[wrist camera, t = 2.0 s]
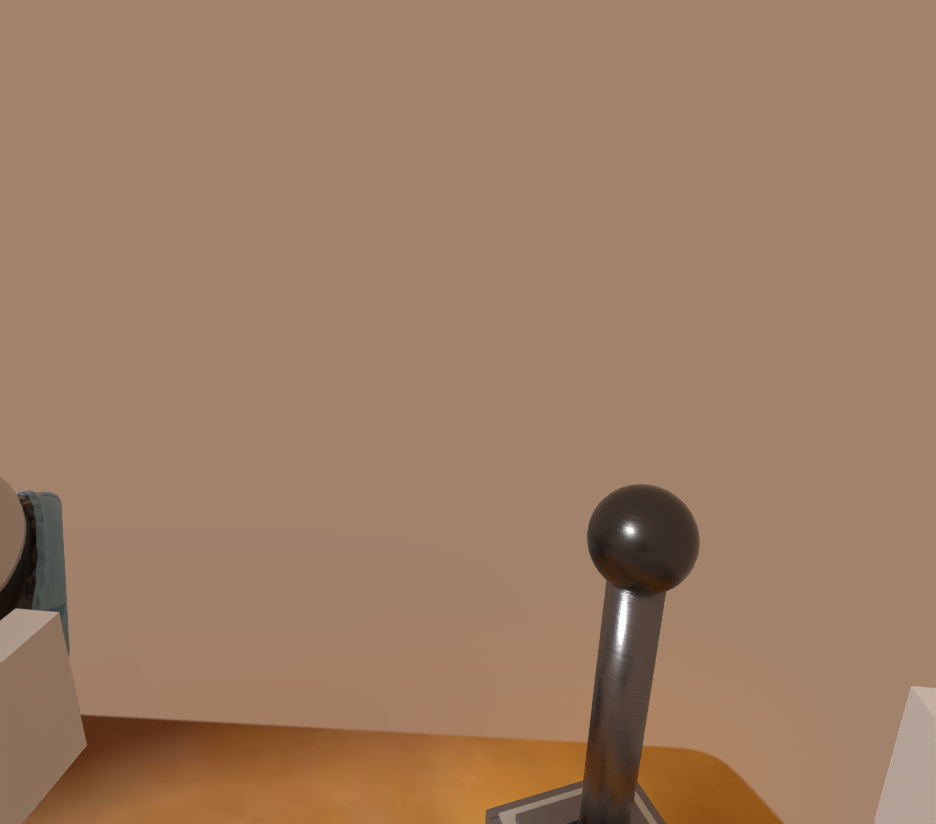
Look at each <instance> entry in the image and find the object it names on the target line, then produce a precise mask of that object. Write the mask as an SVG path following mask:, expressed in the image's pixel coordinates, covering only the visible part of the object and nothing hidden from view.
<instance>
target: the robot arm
mask: <svg viewBox="0 0 936 824" xmlns="http://www.w3.org/2000/svg"><path fill="white" fill-rule="evenodd" d="M62 526H63V525H62V508H61V501H60V498H59V497H58V496H57V495H55V494H53V493H51V492H33V491H29V490H28V491H23V492H20V493H18V494H17V495H16V493H15V492H14V491H13V489H12V488H11V486H10V485H9V484H8V483H7V482H6V481H5V480H3V479H2V478H1V477H0V824H23V822H24V821H25V820H26V819H27V818H28V816H29V815H30V814H31V813H32V812H33V810H34V809H35V808H36V807H37V805H38V804H39V803H40V802H41V801H42V799H43V798H44V797H45V796H46V795H47V793H48V792H49V791H50V790H51V789H52V787H53V786H54V785H55V784H56V782H57V781H58V780H59V779H60V778H61V776H62V775H63V774H64V773H65V772H66V770H67V769H68V768H69V767H70V765H71V764H72V763H73V762H74V761H75V759H76V758H77V757H78V756H79V755H80V753H81V752H82V751H83V750H84V749H85V747H86V746H87V743H86V739H85V734H84V729H83V724H82V720H81V715H80V710H79V705H78V700H77V696H76V691H75V686H74V681H73V677H72V672H71V667H70V662H69V633H68V613H67V597H66V577H65V559H64V543H63V527H62ZM873 824H936V688H928V687H916V686H911V689H910V693H909V696H908V700H907V704H906V707H905V711H904V715H903V718H902V722H901V725H900V729H899V733H898V736H897V740H896V743H895V747H894V751H893V755H892V758H891V762H890V765H889V769H888V773H887V776H886V780H885V783H884V787H883V791H882V795H881V798H880V802H879V805H878V809H877V812H876V816H875V820H874V823H873Z"/></svg>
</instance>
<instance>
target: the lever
mask: <svg viewBox="0 0 936 824" xmlns="http://www.w3.org/2000/svg"><path fill="white" fill-rule="evenodd" d="M587 542H588V549H589V553H590V556H591V558H592V561H593V563H594V565H595V566H596V568H597V569H598V571H599V572H600V573H601V575H602V576H603V577H604V578H605V579H606V580H607V581H606V591H605V599H604V607H603V616H602V625H601V633H600V642H599V650H598V659H597V667H596V676H595V685H594V693H593V702H592V711H591V719H590V728H589V736H588V745H587V753H586V762H585V770H584V779H583V788H582V796H581V805H580V813H579V822H578V824H631V817H632V811H633V804H634V798H635V791H636V784H637V778H638V771H639V765H640V758H641V752H642V745H643V739H644V732H645V725H646V719H647V712H648V705H649V699H650V693H651V686H652V680H653V673H654V667H655V660H656V653H657V647H658V640H659V634H660V627H661V621H662V614H663V608H664V601H665V595H666V591H668V590H670V589H672V588H674V587H676V586H677V585H678V584H680V583H681V582H682V581H683V580H684V579H685V578H686V577H687V576H688V575H689V573H690V572H691V570H692V569H693V567H694V565H695V562H696V560H697V557H698V553H699V544H700V541H699V532H698V527H697V524H696V522H695V519H694V517H693V515H692V514H691V512H690V510H689V509H688V508H687V506H686V505H685V504H684V503H683V502H682V501H681V500H680V499H679V498H678V497H676V496H675V495H673V494H672V493H670V492H669V491H667V490H665V489H662V488H659V487H656V486H652V485H643V484H640V485H639V484H638V485H630V486H626V487H623V488H620V489H618V490H615V491H614V492H612V493H610V494H609V495H608V496H606V497H605V498H604V499H603V500H602V501H601V502H600V503H599V505H598V506H597V507H596V509H595V510H594V512H593V514H592V516H591V519H590V522H589V526H588V532H587Z"/></svg>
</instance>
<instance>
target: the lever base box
mask: <svg viewBox="0 0 936 824" xmlns="http://www.w3.org/2000/svg"><path fill="white" fill-rule="evenodd" d="M582 788H583V781H581V782H577V783H574V784H571V785H567V786H564V787H561V788H557V789H554V790H551V791H547V792H544V793H541V794H537V795H534V796H531V797H527V798H524V799H521V800H517V801H514V802H511V803H507V804H504V805H501V806H497V807H494V808H491V809H487V810H486V824H578V822H579V813H580V805H581V796H582ZM631 824H666V823H665V822H664V820H663V819H662V817H661V816H660V814H659V813H658V812H657V810H656V809H655V807H654V806H653V804H652V803H651V801H650V800H649V798H648V797H647V795H646V794H645V792H644V791H643V790H642V788H641V787H640V785H639V784H638V782H637V784H636V791H635V798H634V804H633V811H632V817H631Z"/></svg>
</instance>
